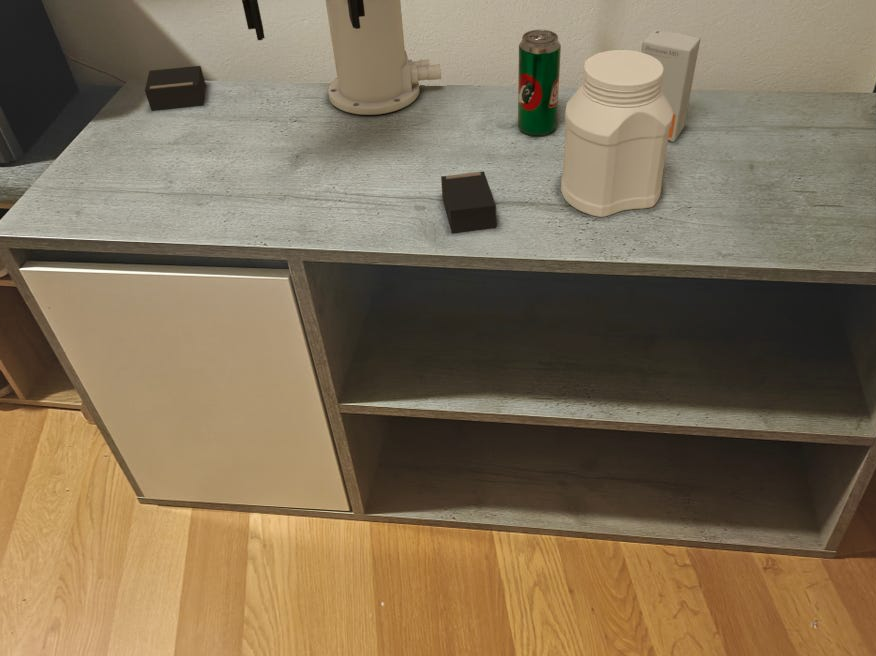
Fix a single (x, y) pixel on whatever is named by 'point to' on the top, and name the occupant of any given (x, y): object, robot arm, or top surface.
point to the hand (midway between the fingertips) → (308, 29)
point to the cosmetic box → (674, 71)
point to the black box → (468, 202)
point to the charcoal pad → (175, 88)
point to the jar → (616, 134)
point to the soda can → (538, 82)
